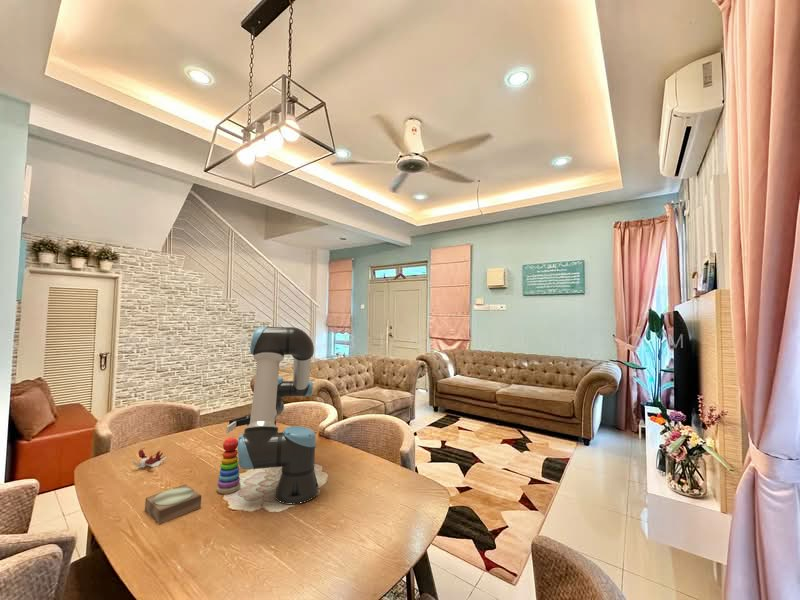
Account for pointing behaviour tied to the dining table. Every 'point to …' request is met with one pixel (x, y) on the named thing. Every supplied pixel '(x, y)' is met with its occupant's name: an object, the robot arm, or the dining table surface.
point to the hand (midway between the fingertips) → (243, 430)
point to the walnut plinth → (172, 503)
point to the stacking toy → (229, 468)
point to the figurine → (149, 459)
